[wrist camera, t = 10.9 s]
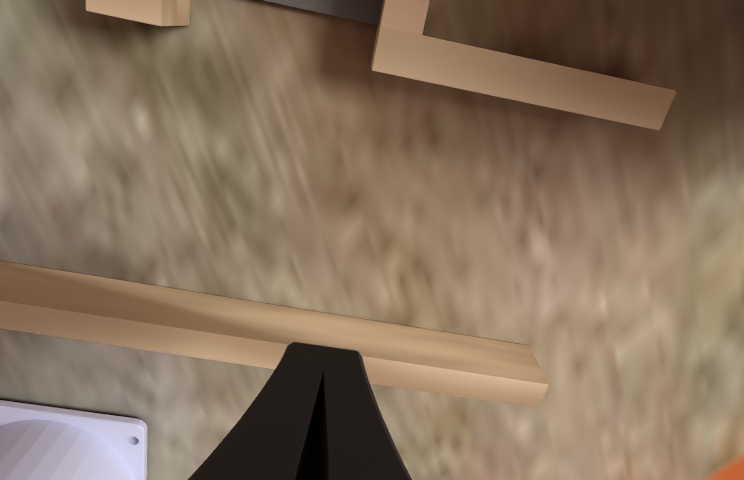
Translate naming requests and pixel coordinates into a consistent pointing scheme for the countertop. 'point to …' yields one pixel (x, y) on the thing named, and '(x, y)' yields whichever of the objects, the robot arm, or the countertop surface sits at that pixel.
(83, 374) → the countertop surface
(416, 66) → the lane
